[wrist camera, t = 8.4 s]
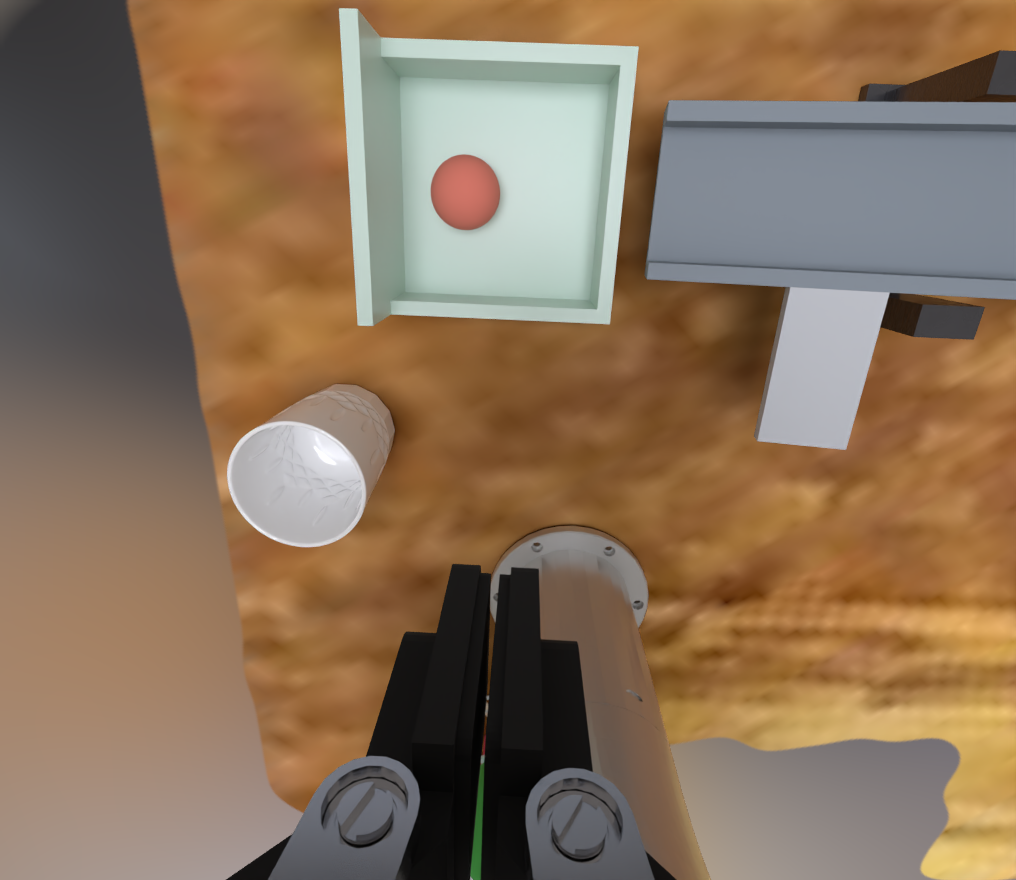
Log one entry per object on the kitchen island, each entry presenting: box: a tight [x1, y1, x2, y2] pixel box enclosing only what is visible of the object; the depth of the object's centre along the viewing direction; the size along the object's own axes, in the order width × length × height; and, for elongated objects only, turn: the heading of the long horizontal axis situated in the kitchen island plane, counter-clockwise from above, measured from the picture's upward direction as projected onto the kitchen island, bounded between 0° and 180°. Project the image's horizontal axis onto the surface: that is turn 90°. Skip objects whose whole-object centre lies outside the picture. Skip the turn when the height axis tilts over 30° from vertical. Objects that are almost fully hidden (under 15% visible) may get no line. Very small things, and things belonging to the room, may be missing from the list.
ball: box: [431, 154, 500, 230], centre depth 32 cm, size 4×4×4 cm
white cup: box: [227, 384, 395, 547], centre depth 36 cm, size 8×8×10 cm
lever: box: [645, 100, 1016, 450], centre depth 28 cm, size 16×30×5 cm, turn 88°
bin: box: [339, 8, 639, 326], centre depth 31 cm, size 14×14×9 cm
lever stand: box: [858, 51, 1016, 339], centre depth 30 cm, size 13×5×9 cm, turn 178°
